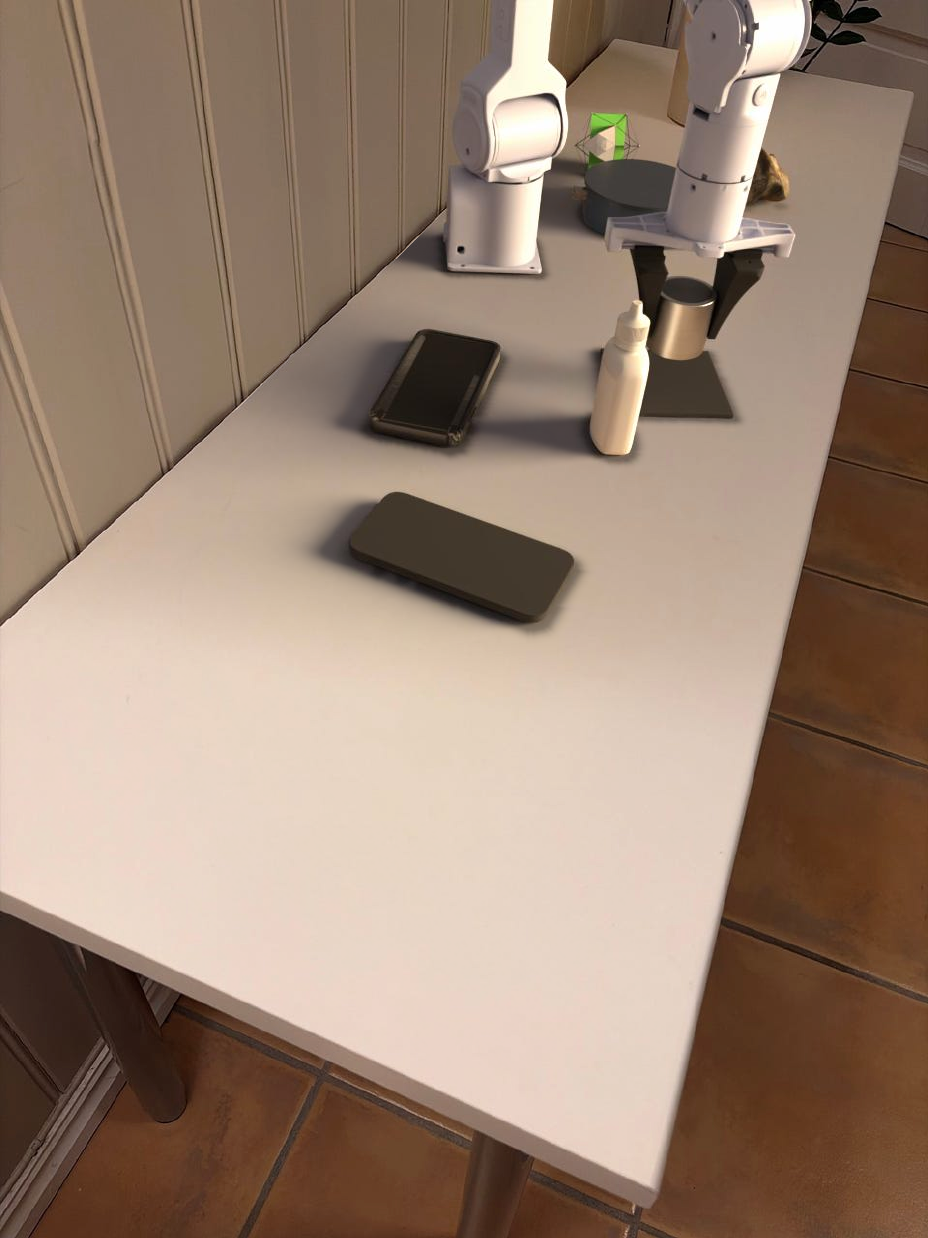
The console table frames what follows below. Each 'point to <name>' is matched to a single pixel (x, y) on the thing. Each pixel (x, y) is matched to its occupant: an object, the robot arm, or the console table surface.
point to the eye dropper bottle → (621, 384)
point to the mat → (683, 388)
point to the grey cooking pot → (624, 190)
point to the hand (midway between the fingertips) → (676, 332)
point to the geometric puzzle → (606, 138)
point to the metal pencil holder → (682, 318)
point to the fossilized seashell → (768, 180)
